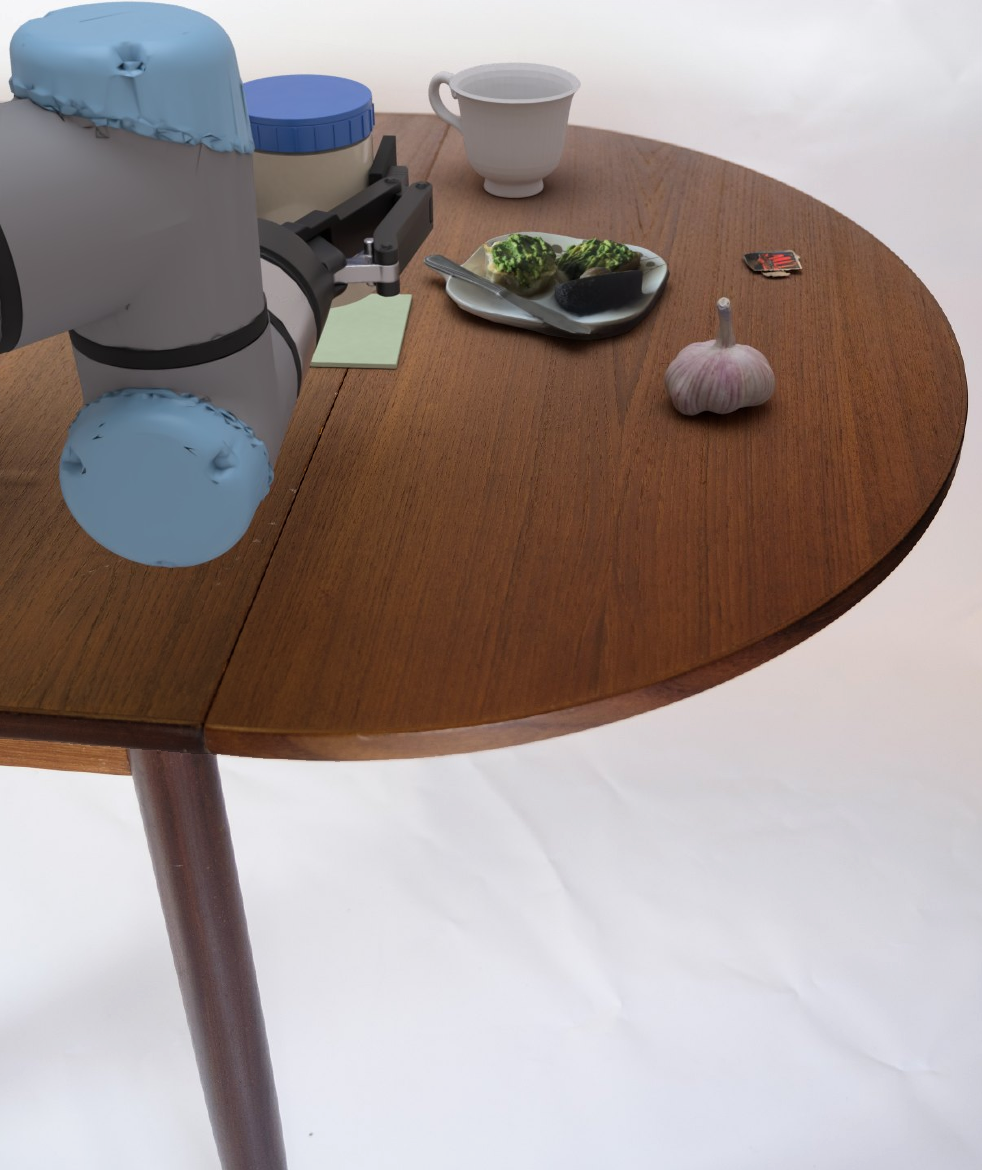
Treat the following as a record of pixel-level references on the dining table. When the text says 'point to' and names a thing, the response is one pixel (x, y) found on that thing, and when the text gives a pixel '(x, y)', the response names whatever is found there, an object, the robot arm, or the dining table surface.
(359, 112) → the lid
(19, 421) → the dining table surface
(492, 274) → the salad plate
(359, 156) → the jar
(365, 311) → the mat
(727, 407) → the garlic bulb
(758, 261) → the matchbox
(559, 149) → the teacup
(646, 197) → the dining table surface
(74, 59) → the robot arm
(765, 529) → the dining table surface
